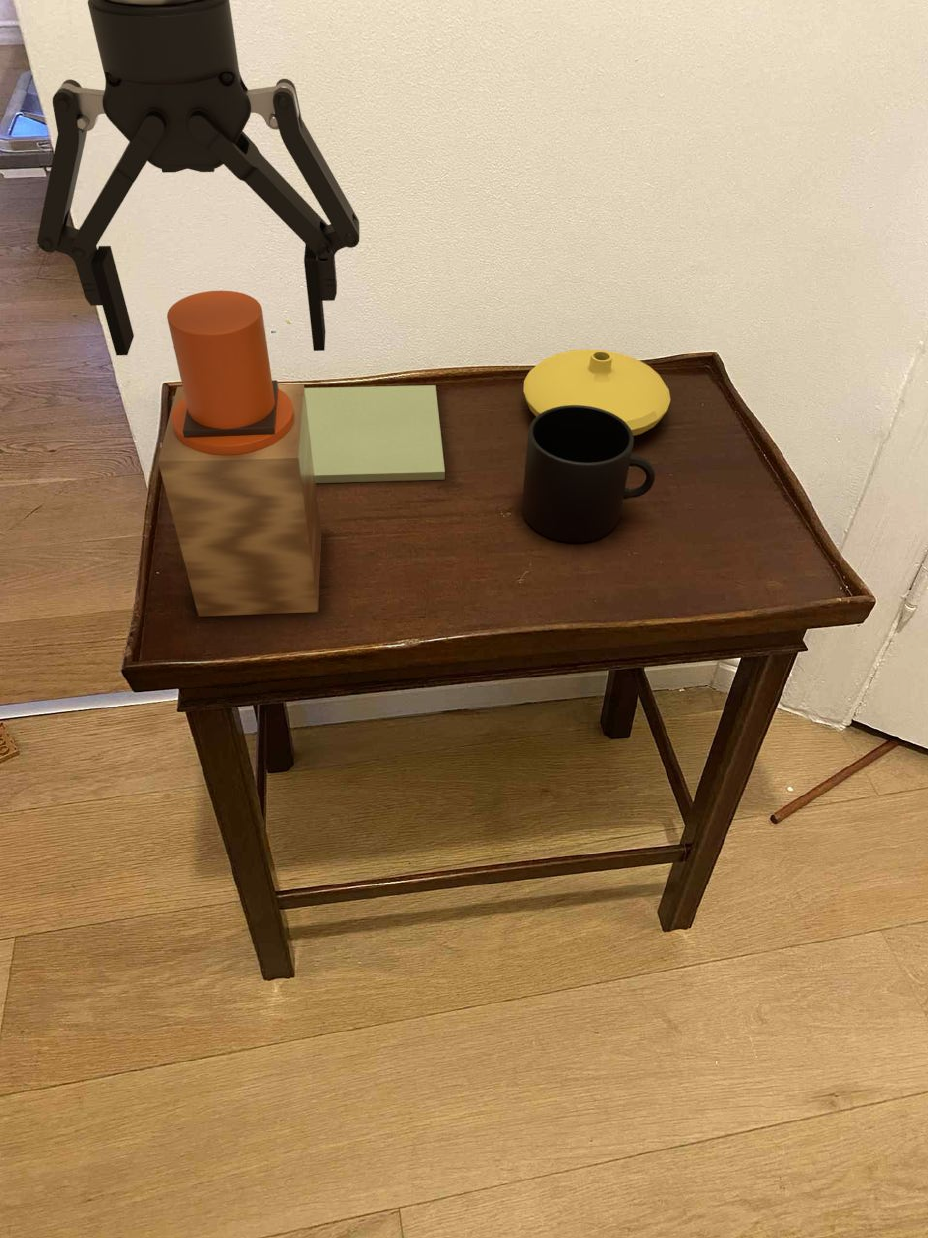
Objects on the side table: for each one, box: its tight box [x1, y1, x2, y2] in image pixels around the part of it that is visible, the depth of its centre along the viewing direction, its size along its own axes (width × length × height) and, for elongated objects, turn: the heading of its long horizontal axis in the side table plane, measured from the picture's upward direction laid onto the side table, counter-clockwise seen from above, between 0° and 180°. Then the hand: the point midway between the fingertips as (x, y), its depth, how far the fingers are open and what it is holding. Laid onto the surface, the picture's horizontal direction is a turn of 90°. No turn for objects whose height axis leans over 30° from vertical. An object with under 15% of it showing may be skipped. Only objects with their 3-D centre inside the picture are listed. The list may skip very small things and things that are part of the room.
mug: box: [521, 405, 656, 544], centre depth 85 cm, size 9×12×9 cm
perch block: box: [157, 383, 322, 618], centre depth 75 cm, size 10×10×16 cm
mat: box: [304, 384, 446, 484], centre depth 95 cm, size 18×16×1 cm
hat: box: [166, 290, 294, 455], centre depth 66 cm, size 9×9×9 cm
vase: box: [522, 348, 671, 437], centre depth 97 cm, size 16×16×7 cm
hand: (223, 343), depth 65 cm, fingers open, 13 cm apart
